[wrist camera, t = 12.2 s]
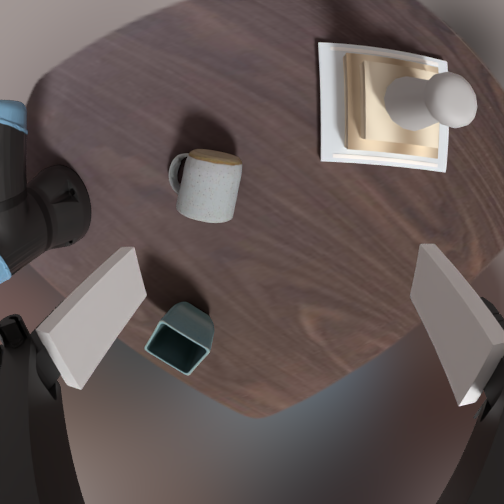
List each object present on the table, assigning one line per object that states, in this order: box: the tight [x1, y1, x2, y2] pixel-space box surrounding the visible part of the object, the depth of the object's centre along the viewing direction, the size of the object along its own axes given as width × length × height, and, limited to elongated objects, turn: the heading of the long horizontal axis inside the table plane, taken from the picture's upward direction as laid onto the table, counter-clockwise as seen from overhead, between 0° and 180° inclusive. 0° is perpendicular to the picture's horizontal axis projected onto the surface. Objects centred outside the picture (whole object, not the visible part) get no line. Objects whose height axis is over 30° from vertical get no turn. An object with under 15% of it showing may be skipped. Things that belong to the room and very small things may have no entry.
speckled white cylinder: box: [169, 149, 242, 223], centre depth 37 cm, size 11×8×8 cm
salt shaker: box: [384, 72, 477, 131], centre depth 20 cm, size 6×6×13 cm
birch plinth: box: [343, 53, 439, 159], centre depth 29 cm, size 12×12×6 cm
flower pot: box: [144, 302, 214, 375], centre depth 48 cm, size 9×9×9 cm
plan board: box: [318, 42, 449, 172], centre depth 32 cm, size 18×16×1 cm
